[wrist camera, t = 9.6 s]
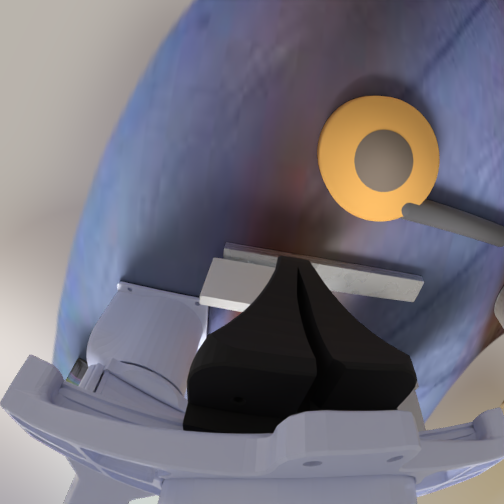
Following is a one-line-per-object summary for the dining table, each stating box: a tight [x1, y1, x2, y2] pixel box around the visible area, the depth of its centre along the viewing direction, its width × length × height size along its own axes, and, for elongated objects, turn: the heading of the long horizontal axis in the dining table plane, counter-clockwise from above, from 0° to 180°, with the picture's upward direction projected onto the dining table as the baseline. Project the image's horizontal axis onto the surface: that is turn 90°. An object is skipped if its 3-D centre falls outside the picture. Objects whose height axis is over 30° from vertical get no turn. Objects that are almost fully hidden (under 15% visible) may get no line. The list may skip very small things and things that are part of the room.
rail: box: [223, 242, 424, 302], centre depth 24 cm, size 18×2×1 cm, turn 82°
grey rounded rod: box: [400, 199, 504, 247], centre depth 20 cm, size 14×2×2 cm, turn 82°
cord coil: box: [317, 96, 439, 221], centre depth 18 cm, size 9×9×2 cm
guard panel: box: [199, 257, 275, 312], centre depth 21 cm, size 8×1×5 cm, turn 82°
